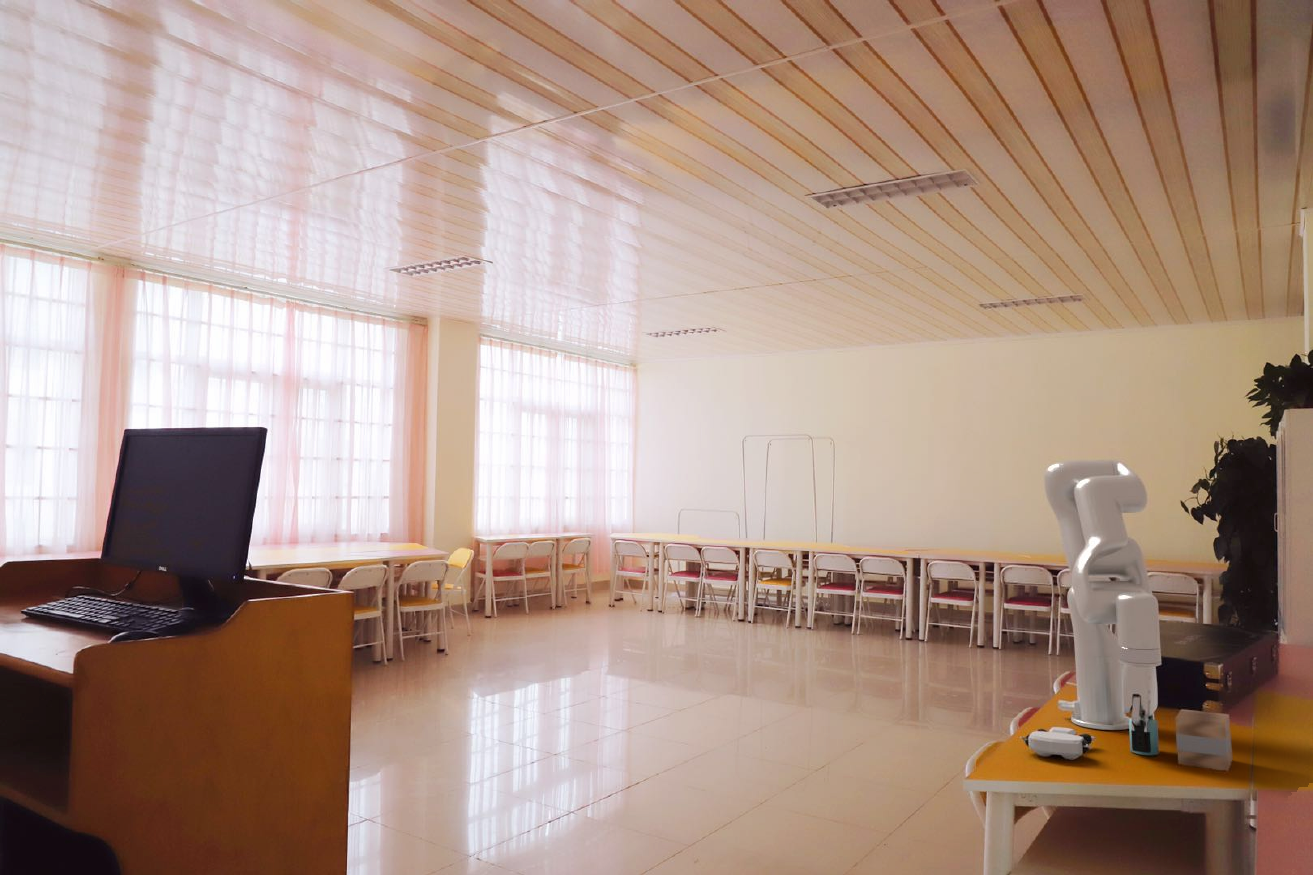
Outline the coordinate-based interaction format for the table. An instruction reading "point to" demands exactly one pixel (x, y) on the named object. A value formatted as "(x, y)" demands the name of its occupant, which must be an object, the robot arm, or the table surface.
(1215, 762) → the slab bottom
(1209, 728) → the slab top
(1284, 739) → the table surface
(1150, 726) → the teal open box
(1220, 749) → the slab middle
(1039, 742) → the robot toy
